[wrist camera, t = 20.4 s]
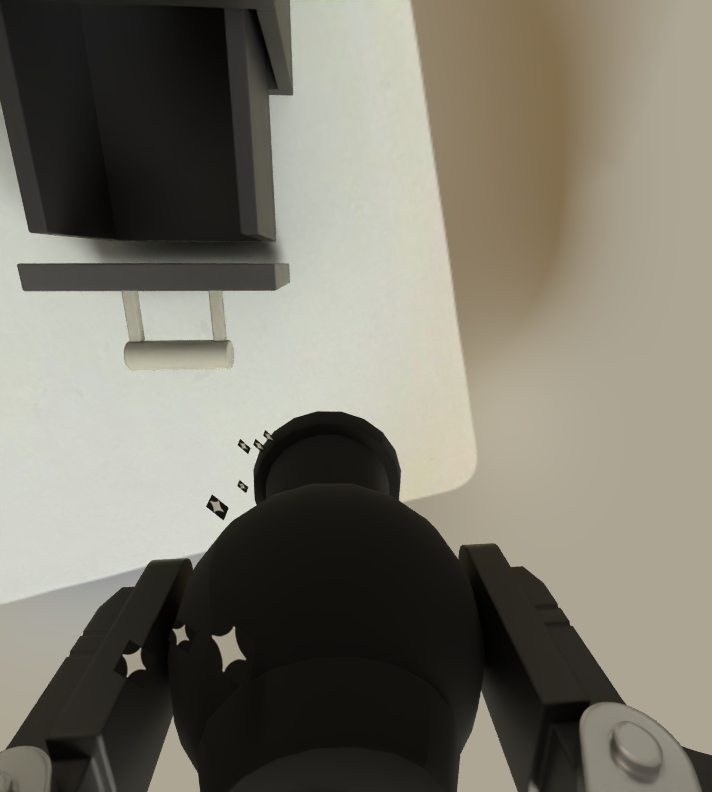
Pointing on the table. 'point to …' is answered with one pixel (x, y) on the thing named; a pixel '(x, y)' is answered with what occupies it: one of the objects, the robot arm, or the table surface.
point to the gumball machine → (324, 629)
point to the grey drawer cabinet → (274, 25)
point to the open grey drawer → (142, 150)
